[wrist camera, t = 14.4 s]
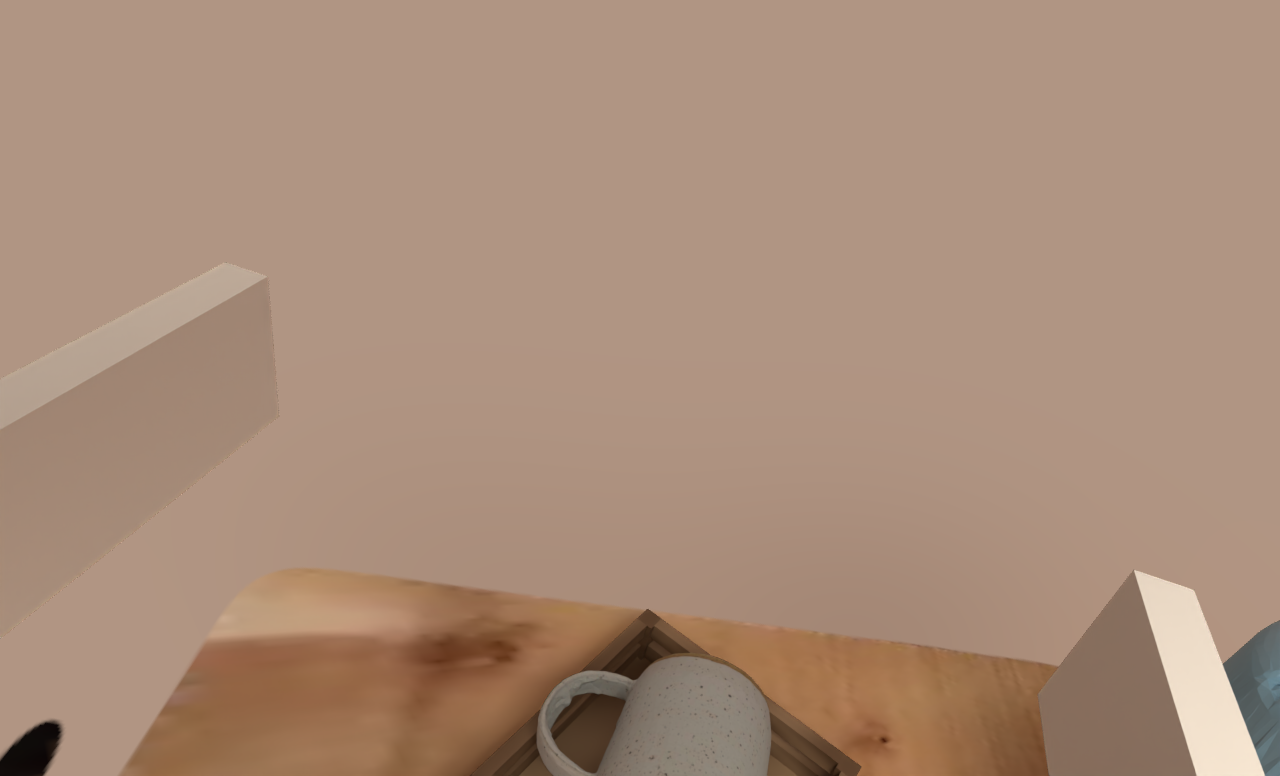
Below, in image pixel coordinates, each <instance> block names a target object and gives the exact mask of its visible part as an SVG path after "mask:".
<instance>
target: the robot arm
mask: <svg viewBox="0 0 1280 776" xmlns="http://www.w3.org/2000/svg"><path fill="white" fill-rule="evenodd" d="M268 284H269V283H268V276H265V275H262V274H259V273H256V272H253V271H250V270H247V269H244V268H241V267H238V266H235V265H233V264H230V263H227V262H225V263H223V264H221V265H219V266H217V267H215V268H213V269H211V270H209V271H207V272H205V273H204V274H201V275H200V276H198V277H196V278H194V279H192V280H190V281H188V282H186V283H184V284H182V285H180V286H178V287H176V288H174V289H173V290H171V291H169V292H167V293H165V294H163V295H161V296H159V297H157V298H155V299H153V300H151V301H149V302H147V303H146V304H144V305H142V306H140V307H138V308H136V309H134V310H132V311H130V312H128V313H126V314H124V315H122V316H120V317H118V318H116V319H114V320H113V321H111V322H109V323H107V324H105V325H103V326H101V327H99V328H97V329H95V330H93V331H91V332H90V333H88V334H85V335H84V336H82V337H80V338H78V339H76V340H74V341H72V342H70V343H68V344H66V345H64V346H62V347H60V348H58V349H56V350H54V351H53V352H51V353H49V354H47V355H45V356H43V357H41V358H39V359H37V360H35V361H33V362H32V363H29V364H27V365H25V366H24V367H22V368H20V369H18V370H16V371H14V372H12V373H10V374H8V375H6V376H4V377H2V378H0V639H1V638H2V637H3V636H4V635H6V634H7V633H8V632H9V631H11V630H12V629H13V628H15V627H16V626H17V625H18V624H20V623H21V622H22V621H23V620H25V619H26V618H27V617H28V616H30V615H31V614H32V613H33V612H35V611H36V610H37V609H38V608H39V607H41V606H42V605H43V604H44V603H46V602H47V601H48V600H50V599H51V598H52V597H53V596H55V595H56V594H57V593H58V592H60V591H61V590H62V589H63V588H65V587H66V586H67V585H68V584H70V583H71V582H72V581H73V580H75V579H76V578H77V577H78V576H80V575H81V574H82V573H83V572H85V571H86V570H87V569H88V568H90V567H91V566H92V565H93V564H95V563H96V562H97V561H98V560H100V559H101V558H102V557H104V556H105V555H106V554H107V553H109V552H110V551H111V550H112V549H114V548H115V547H116V546H117V545H119V544H120V543H121V542H122V541H124V540H125V539H126V538H127V537H129V536H130V535H131V534H132V533H134V532H135V531H136V530H137V529H139V528H140V527H141V526H142V525H144V524H145V523H146V522H147V521H148V520H150V519H151V518H152V517H154V516H155V515H156V514H157V513H159V512H160V511H161V510H162V509H164V508H165V507H166V506H167V505H169V504H170V503H171V502H172V501H174V500H175V499H176V498H177V497H179V496H180V495H181V494H183V493H184V492H185V491H186V490H187V489H189V488H190V487H191V486H193V485H194V484H195V483H196V482H198V481H199V480H200V479H201V478H203V477H204V476H205V475H206V474H208V473H209V472H210V471H211V470H212V469H214V468H215V467H216V466H218V465H219V464H220V463H221V462H223V461H224V460H225V459H226V458H228V457H229V456H230V455H231V454H233V453H234V452H235V451H236V450H238V449H239V448H240V447H241V446H243V445H244V444H245V443H246V442H248V441H249V440H250V439H251V438H253V437H254V436H255V435H256V434H258V433H259V432H260V431H261V430H263V429H264V428H265V427H266V426H268V425H269V424H270V423H272V422H273V421H274V420H275V419H276V418H278V417H279V408H278V395H277V382H276V371H275V358H274V345H273V334H272V321H271V309H270V296H269V285H268ZM1038 701H1039V708H1040V716H1041V723H1042V730H1043V737H1044V745H1045V752H1046V759H1047V767H1048V774H1049V776H1280V620H1279V621H1277V622H1275V623H1273V624H1271V625H1269V626H1268V627H1266V628H1264V629H1263V630H1261V631H1260V632H1259V633H1257V634H1256V635H1255V636H1254V637H1253V638H1252V639H1251V640H1250V641H1248V643H1246V644H1245V645H1244V646H1243V647H1242V648H1241V649H1239V650H1238V651H1237V652H1236V653H1235V654H1234V655H1233V656H1232V657H1230V658H1229V659H1228V660H1227V661H1226V662H1225V663H1223V664H1222V662H1221V659H1220V657H1219V654H1218V652H1217V649H1216V646H1215V644H1214V641H1213V639H1212V636H1211V633H1210V631H1209V628H1208V626H1207V623H1206V620H1205V618H1204V615H1203V612H1202V610H1201V607H1200V605H1199V602H1198V599H1197V597H1196V594H1195V592H1194V590H1192V589H1189V588H1186V587H1183V586H1180V585H1177V584H1175V583H1172V582H1169V581H1165V580H1163V579H1160V578H1156V577H1154V576H1151V575H1148V574H1145V573H1142V572H1139V571H1136V570H1133V572H1132V573H1131V574H1130V575H1129V577H1128V578H1127V579H1126V580H1125V582H1124V583H1123V584H1122V586H1121V587H1120V588H1119V590H1118V591H1117V592H1116V593H1115V595H1114V596H1113V597H1112V599H1111V600H1110V601H1109V602H1108V604H1107V605H1106V606H1105V608H1104V609H1103V610H1102V612H1101V613H1100V614H1099V616H1098V617H1097V618H1096V619H1095V621H1094V622H1093V623H1092V624H1091V626H1090V627H1089V628H1088V630H1087V631H1086V632H1085V634H1084V635H1083V636H1082V638H1081V639H1080V640H1079V641H1078V643H1077V644H1076V645H1075V647H1074V648H1073V649H1072V650H1071V652H1070V653H1069V654H1068V656H1067V657H1066V658H1065V659H1064V661H1063V662H1062V663H1061V665H1060V666H1059V667H1058V669H1057V670H1056V671H1055V672H1054V674H1053V675H1052V676H1051V678H1050V679H1049V680H1048V681H1047V683H1046V684H1045V685H1044V687H1043V688H1042V689H1041V691H1040V692H1039V693H1038Z"/></svg>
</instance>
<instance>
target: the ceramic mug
mask: <svg viewBox="0 0 1280 776" xmlns="http://www.w3.org/2000/svg"><path fill="white" fill-rule="evenodd" d="M586 693H595V694H605V695H609V696H613V697H616V698H619V699H622V700H625V701H626V703H625V705H624V707H623V710H622V713H621V715H620V717H619V719H618V721H617V723H616V729H615V731H614V734H613V736H612V738H611V740H610V742H609V745H608V747H607V749H606V751H605V753H604V756H603V759H602V761H601V763H600V765H599V768H598V770H597V773H590V772H586V771H585V770H583V769H582V768H580V767H579V766H578V765H577V764H576V763H574V762H573V761H571V760H570V759H569V758H568V757H567V756H565V755H564V754H563V753H562V752H561V751H560V750H559V749H558V747H557V745H556V744H555V742H554V740H553V738H552V734H551V732H550V730H551V728H552V726H553V724H554V722H555V720H556V719H557V717H558V716H559V714H560V713H561V712H562V710H563V709H564V708H565V707H567V706H569V705H570V703H571V701H572V697H574V696H576V695H581V694H586ZM537 748H538V751H539V753H540V756H541V758H542V761H543V763H544V765H545V766H546V768H547V769H548V771H549V772H550V773H551V774H552V775H553V776H767V772H768V764H769V756H770V748H771V724H770V714H769V707H768V704H767V701H766V698H765V696H764V694H763V692H762V691H761V689H760V687H759V686H758V685H757V684H756V683H755V682H754V680H753V679H752V678H751V677H750V676H749V675H747V674H746V673H745V672H744V671H742V670H741V669H739V668H738V667H736V666H734V665H732V664H731V663H729V662H727V661H725V660H722V659H720V658H717V657H714V656H711V655H706V654H700V653H678V654H672V655H669V656H666V657H663V658H660V659H658V660H656V661H654V662H653V663H652V664H650V665H649V666H648V667H647V668H646V669H645V670H644V672H643V673H642V674H641V676H640V677H639V679H636V680H631V679H629V678H628V677H625V676H622V675H619V674H616V673H611V672H607V671H592V670H591V671H584V672H581V673H577V674H574V675H572V676H570V677H568V678H566V679H564V680H563V681H562V682H560V683H559V684H558V685H557V686H556V687H554V689H553V690H552V691H551V693H550V694H549V695H548V697H547V698H546V700H545V702H544V703H543V705H542V708H541V711H540V714H539V717H538V727H537Z"/></svg>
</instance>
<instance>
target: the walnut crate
mask: <svg viewBox="0 0 1280 776" xmlns="http://www.w3.org/2000/svg"><path fill="white" fill-rule="evenodd" d="M678 653H700V654H706V655H710V654H708V653H707V652H706V651H704V650H703V649H702V648H700V647H699V646H698V645H696V644H695V643H693V642H692V641H691V640H689V639H688V638H687V637H685V636H684V635H683V634H681V633H680V632H679V631H677V630H676V629H675V628H673V627H672V626H670V625H669V624H668V623H666V622H665V621H664V620H662V619H661V618H660V617H658V616H657V615H656V614H654V613H653V612H652V611H650V610H649V609H647V610H646V611H645V612H644V613H642V614H641V615H640V616H639V617H638V618H637V619H636V620H635V621H634V622H633V623H632V624H631V625H630V626H629V627H628V628H627V629H625V630H624V631H623V632H622V633H621V634H620V635H619V636H618V637H617V638H616V639H615V640H614V641H613V642H612V643H611V644H610V645H608V646H607V647H606V648H605V649H604V650H603V651H602V652H601V653H600V654H599V655H598V656H597V657H596V658H595V659H594V660H593V661H591V662H590V663H589V664H588V665H587V666H586V667H585V668H584V669H583V670H582V671H581V672H584V671H591V670H592V671H607V672H611V673H616V674H619V675H622V676H625V677H628V678H629V679H631V680H636V679H639V677H640V676H641V674H642V673H643V672H644V670H645V669H646V668H647V667H648V666H649V665H650V664H652V663H653V662H654V661H656V660H658V659H660V658H663V657H666V656H669V655H672V654H678ZM581 672H580V673H581ZM764 696H765V695H764ZM765 698H766V701H767V704H768V707H769V714H770V724H771V748H770V756H769V764H768V772H767V776H857V774H858V772H859V770H860V769H861V766H860V765H859V764H857V763H856V762H854V761H853V760H852V759H850V758H849V757H848V756H846V755H845V754H844V753H842V752H841V751H840V750H838V749H837V748H836V747H834V746H833V745H831V744H830V743H829V742H827V741H826V740H825V739H823V738H822V737H821V736H819V735H818V734H817V733H815V732H814V731H813V730H811V729H810V728H808V727H807V726H806V725H804V724H803V723H802V722H800V721H799V720H798V719H796V718H795V717H794V716H792V715H791V714H790V713H788V712H787V711H785V710H784V709H783V708H781V707H780V706H779V705H777V704H776V703H775V702H773V701H772V700H771V699H769V698H768V697H767V696H765ZM625 703H626V701H625V700H622V699H619V698H616V697H613V696H609V695H605V694H595V693H586V694H581V695H576V696H574V697H572V701H571V703H570V705H569V706H567V707H565V708H564V709H563V710H562V712H561V713H560V714H559V716H558V717H557V719H556V720H555V722H554V724H553V726H552V728H551V730H550V732H551V734H552V738H553V740H554V742H555V744H556V745H557V747H558V749H559V750H560V751H561V752H562V753H563V754H564V755H565V756H567V757H568V758H569V759H570V760H571V761H573V762H574V763H576V764H577V765H578V766H579V767H580V768H582V769H583V770H585V771H586V772H590V773H597V770H598V768H599V765H600V763H601V761H602V759H603V756H604V753H605V751H606V749H607V747H608V745H609V742H610V740H611V738H612V736H613V734H614V731H615V729H616V723H617V721H618V719H619V717H620V715H621V713H622V710H623V707H624V705H625ZM540 711H541V709H540V710H539V711H538V712H537V713H536V714H535V715H534V716H533V717H532V718H531V719H530V720H529V721H528V722H527V723H526V724H525V725H523V726H522V727H521V728H520V729H519V730H518V731H517V732H516V733H515V734H514V735H513V736H512V737H511V738H510V739H509V740H508V741H506V742H505V743H504V744H503V745H502V746H501V747H500V748H499V749H498V750H497V751H496V752H495V753H494V754H493V755H492V756H491V757H489V758H488V759H487V760H486V761H485V762H484V763H483V764H482V765H481V766H480V767H479V768H478V769H477V770H476V771H475V772H474V773H472V774H471V775H470V776H553V775H552V774H551V773H550V772H549V771H548V769H547V768H546V766H545V765H544V763H543V761H542V758H541V756H540V753H539V751H538V748H537V727H538V717H539V714H540Z"/></svg>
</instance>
